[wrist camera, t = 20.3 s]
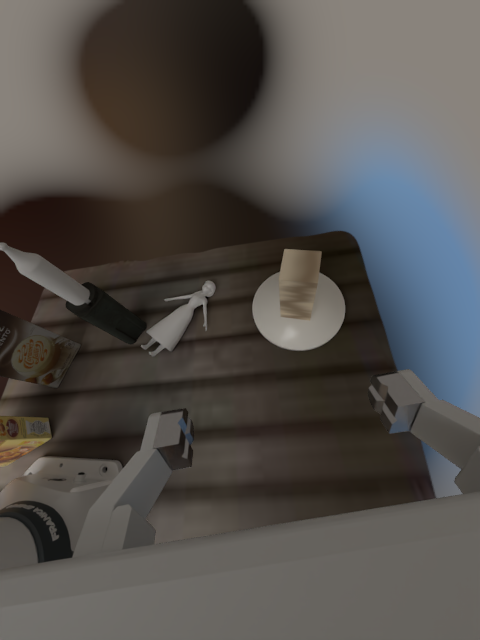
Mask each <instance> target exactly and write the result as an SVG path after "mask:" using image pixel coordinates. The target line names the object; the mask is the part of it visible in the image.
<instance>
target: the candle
mask: <svg viewBox="0 0 480 640" xmlns="http://www.w3.org/2000/svg"><path fill="white" fill-rule="evenodd" d="M0 250H3V251H5V253H6V254H7V255H8V256H9V257H10V258H11V259H12V260H13V261H14V262H15V264H16V266H17V269H18V271H19V272H20V273H21V274H23V275H25V276H26V277H28V278H30V279H31V280H33V281H35V282H36V283H38V284H40V285H41V286H43V287H45V288H47V289H48V290H50V291H52V292H53V293H55V294H57V295H58V296H60V297H62V298H64V299H65V300H67V302H66V308H67V309H68V310H70V311H71V312H73V313H74V314H75V315H77V316H78V317H80V318H82V319H83V320H85V321H87V322H89V323H91V324H93V325H95V326H96V327H98V328H100V329H102V330H104V331H106V332H107V333H109V334H111V335H113V336H115V337H117V338H118V339H120V340H122V341H124V342H126V343H128V344H133V343H135V342H136V339H137V338H138V337H139V336H140V334H141V333H142V332H143V331H144V330H145V329H146V323H145V322H144V321H142V320H141V319H140V318H138V317H137V316H136V315H134V314H133V313H132V312H130V311H129V310H128V309H126V308H125V307H124V306H122V305H121V304H120V303H118V302H117V301H116V300H114V299H113V298H112V297H110V296H109V295H108V294H106V293H105V292H104V291H102V290H101V289H99V288H98V287H96V286H95V285H93V284H92V283H89V282H87V283H84V284H79V283H78V282H77V281H75V280H74V279H72V278H71V277H70V276H68V275H67V274H65V273H64V272H62V271H61V270H60V269H58V268H57V267H55V266H54V265H52V264H51V263H50V262H48V261H47V260H45V259H44V258H42V257H41V256H40V255H38V254H34V253H25V252H22V251H19V250H17V249H14V248H11V247H8V245H7V244H6V243H0Z"/></svg>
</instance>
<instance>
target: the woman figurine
mask: <svg viewBox="0 0 480 640" xmlns="http://www.w3.org/2000/svg"><path fill="white" fill-rule="evenodd" d="M202 289H203V290H202V291H198V292H195V293H194V294H190V295H185V296H180V297H175V298H167V299H164V300H165V301H166V302H167V301H171V300H176V299H188V298H191V299H190V301H189V303H188V304H185V305H183V306H181V307H179V308H178V309H176V310H175V311H174V312H172V313H171V314H170V315H169V316H167V317H166V318H164V319H162V320H161V321H160V322H158V323H157V324H155V325H154V326H153V327H151V328H150V329H149V330H147V331H146V332H147V333H148V334H149V335H150V336H151V337H152V339H151V340H150V341H149V342H148V344H147V345H141V347H142V348H143V349H145V350H146V349H147V348H148V347H150V346H151V345H152V344H153V343H155V342H156V341H158V342H159V343H160V345H159V347H158V348H157V349H156V350H155V351H153V352H149V354H150V355H151V356H153V357H154V356H155V355H156V354H157V353H159V352H160V351H161V350H163V349H164V348H166V349H168V350H169V351H170V352H172V351H173V349H174V348H175V346H176V345H177V343H178V342H179V340H180V339H181V337H182V335H183V334H184V332H185V330H186V328H187V326H188V325H189V323H190V321H191V319H192V317H193V312H194V309H195V308H196V307H198V306H200V305H202V304H203V313H204V318H205V323H204V325H203V327H204V326H205V327H206V331H207V308H206V305H207V302H208V301H207V299H206V297H205V296H207V297H210V296H212V295H213V294H214V292H215V289H216V286H215V284H214V283H213V282H212V281H206V282H205V285H203V287H202Z"/></svg>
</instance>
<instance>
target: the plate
mask: <svg viewBox="0 0 480 640" xmlns="http://www.w3.org/2000/svg"><path fill="white" fill-rule="evenodd" d="M279 275H280V272H278V273H276V274H274V275H272V276H270V277H269V278H268V279H266V280H265V281H264V282H263V283H262V284H261V286H260V287H259V288H258V290H257V292H256V294H255V296H254V300H253V305H252V312H253V317H254V321H255V324H256V326H257V328H258V330H259V331H260V333H261V334H262V335H263V336H264V337H265V338H266V339H267V340H268V341H269V342H271V343H272V344H274V345H276V346H278V347H280V348H283V349H287V350H291V351H306V350H311V349H315V348H318V347H320V346H322V345H324V344H325V343H327V342H328V341H330V340H331V339H332V338H333V337H334V336H335V335H336V333H337V332H338V331H339V329H340V327H341V325H342V323H343V320H344V316H345V302H344V298H343V295H342V293H341V291H340V289H339V288H338V287H337V285H336V284H335V283H334V282H333V281H332V280H331V279H329V278H328V277H327V276H325V275H323V274H321V273H319V278H318V285H317V290H316V294H315V299H314V304H313V309H312V313H311V318H310V321H309V320H301V319H293V318H285V317H281V314H280V296H279Z"/></svg>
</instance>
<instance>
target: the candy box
mask: <svg viewBox="0 0 480 640" xmlns="http://www.w3.org/2000/svg"><path fill="white" fill-rule="evenodd" d="M51 438H52V435H51V429H50V424H49V418H42V417H16V416H0V466H7V465H8V464H10V463H12V462H14V461H15V460H17V459H19V458H20V457H22V456H23V455H25V454H27V453H29V452H30V451H32V450H33V449H35V448H37V447H38V446H40V445H42V444H43V443H45V442H47V441H48V440H50V439H51Z"/></svg>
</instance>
